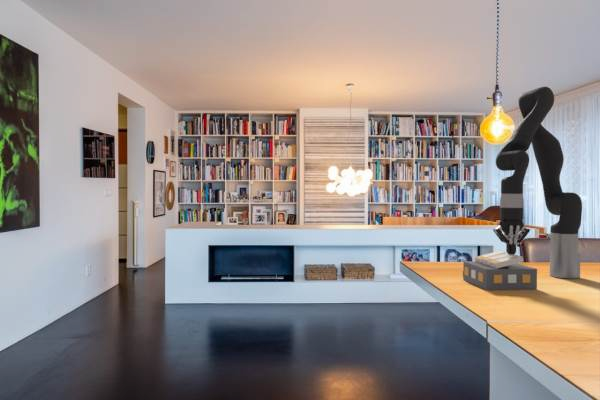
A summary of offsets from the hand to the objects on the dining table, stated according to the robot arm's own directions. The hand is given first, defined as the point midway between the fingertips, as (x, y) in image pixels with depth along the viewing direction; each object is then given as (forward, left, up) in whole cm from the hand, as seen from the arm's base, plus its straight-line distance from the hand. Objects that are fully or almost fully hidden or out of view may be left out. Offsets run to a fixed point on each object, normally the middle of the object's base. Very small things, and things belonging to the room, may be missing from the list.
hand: (511, 254), depth 145 cm
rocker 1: (+5, 0, -3) cm, 5 cm away
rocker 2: (+5, +5, -3) cm, 7 cm away
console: (+5, 0, -11) cm, 12 cm away
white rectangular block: (+5, -5, -3) cm, 7 cm away
